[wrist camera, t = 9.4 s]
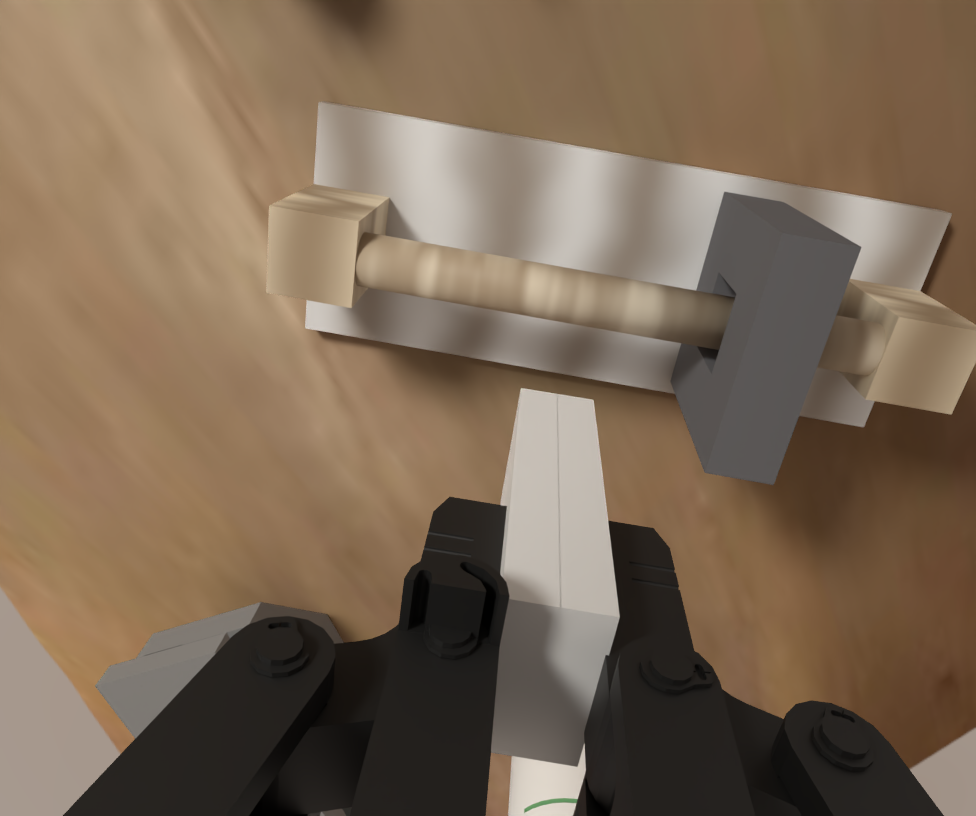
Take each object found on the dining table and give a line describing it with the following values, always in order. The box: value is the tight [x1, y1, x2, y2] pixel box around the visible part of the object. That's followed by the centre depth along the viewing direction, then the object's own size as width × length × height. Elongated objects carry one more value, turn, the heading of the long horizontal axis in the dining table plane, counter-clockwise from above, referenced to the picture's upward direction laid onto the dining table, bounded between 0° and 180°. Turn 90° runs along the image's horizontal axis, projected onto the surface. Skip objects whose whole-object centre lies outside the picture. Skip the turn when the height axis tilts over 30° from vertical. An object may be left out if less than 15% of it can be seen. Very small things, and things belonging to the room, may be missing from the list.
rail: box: [266, 101, 976, 427], centre depth 37 cm, size 32×12×8 cm, turn 81°
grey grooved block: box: [95, 602, 352, 816], centre depth 50 cm, size 25×8×11 cm, turn 22°
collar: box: [670, 192, 861, 485], centre depth 35 cm, size 3×10×10 cm, turn 171°
